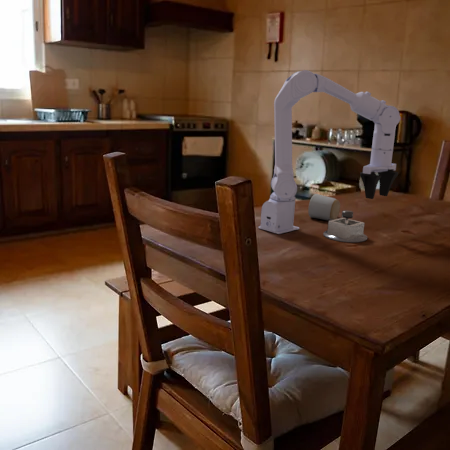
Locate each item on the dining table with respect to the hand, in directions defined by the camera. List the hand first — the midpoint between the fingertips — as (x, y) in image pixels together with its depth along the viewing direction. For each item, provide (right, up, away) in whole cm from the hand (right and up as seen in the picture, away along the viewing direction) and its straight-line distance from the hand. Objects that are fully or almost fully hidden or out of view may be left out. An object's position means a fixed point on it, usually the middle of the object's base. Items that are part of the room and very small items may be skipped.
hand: (376, 197), depth 146 cm
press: (-10, -11, -3) cm, 15 cm away
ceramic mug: (-12, -6, +17) cm, 21 cm away
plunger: (-10, -10, -4) cm, 15 cm away
